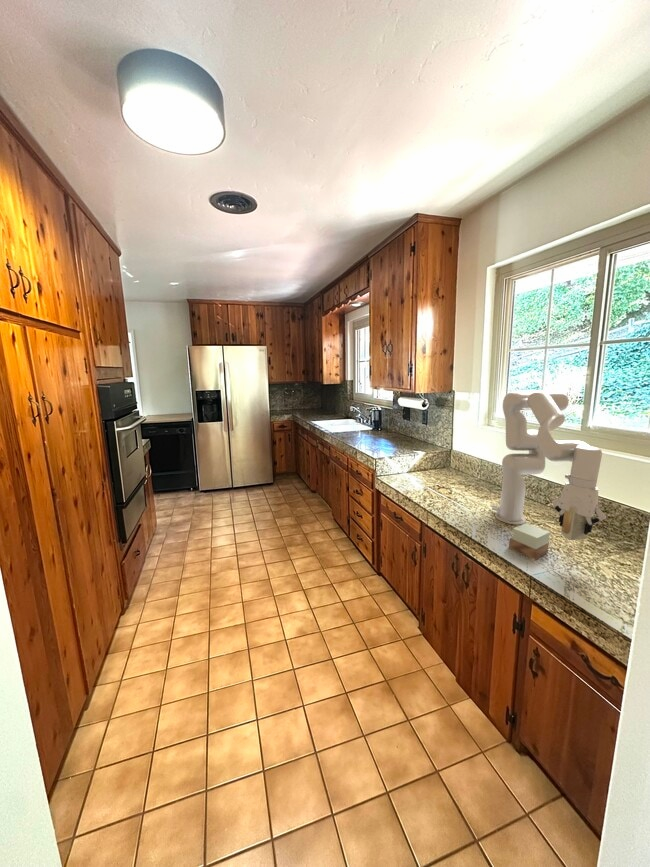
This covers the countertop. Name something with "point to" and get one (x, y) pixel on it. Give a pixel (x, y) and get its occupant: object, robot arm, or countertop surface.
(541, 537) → the tower top
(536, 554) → the tower bottom
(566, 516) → the skincare box
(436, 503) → the countertop surface
